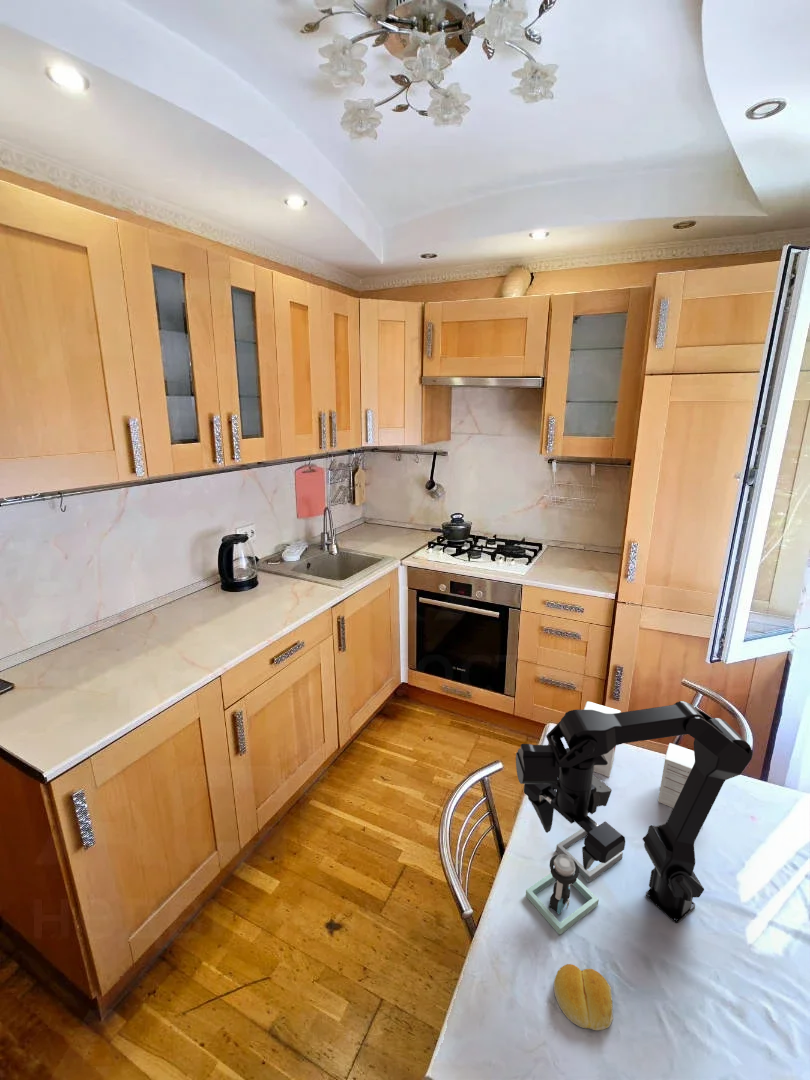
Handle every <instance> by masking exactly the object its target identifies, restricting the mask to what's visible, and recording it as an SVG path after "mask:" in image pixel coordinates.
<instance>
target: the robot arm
mask: <svg viewBox="0 0 810 1080" xmlns="http://www.w3.org/2000/svg"><path fill="white" fill-rule="evenodd" d="M684 735H685V736H686V735H689V736H690V737H692V738H693V739H694V740H693V751H694V755H695V763H694V765H693V768H692V770H691V772H690V774H689V776H688V778H687V780H686V782H685V784H684V787H683V789H682V791H681V793H680V795H679V797H678V799H677V801H676V803H675V806H674V808H672V810H671V812H670V815H669V816H668V819H667V821H666V823H663V824H660V825H658V826H655V825H653V824H651V825H649V826H648V829H647V833H646V834H645V836H643V838H642V841H643V842H644V843H643V844H644V845H643V846H644V847H643V848H644V849H645V851H646V854H647V855H648V857H649V859H650V861H651V862H652V864H653V867H654V868H653V869H651V872H650V877H649V883H648V887H649V889H648V890H647V891H645V897H646V898H647V899H648V900H649V901H651V902H652V903H653V904H654V905H655V906H656V907H657V908H658V909H659V910H660V911H662V912H663V913H664V914H665V916H667V917H668V918H669V919H670V920H672V921H673V922H674V923H675V924H678V923H680V922H681V921H682V920H683V919H684V918H685V917H686V916H687V915H688V914H689V913H691V911H693V910H694V909H695V908H696V903H695V901H694V899H693V898H700V897H701V896H702V894H703V892H704V891H705V888H704V887H703V885H702V883H701V882H700V880H699V878H698V877H697V875H696V873H695V871H694V870H695V866H696V853H695V842H696V840H697V838H698V836H699V833H700V832H701V829H702V828H703V825H704V824H705V821H706V820H707V817H708V816H709V813H710V811H711V809H712V808H713V806H714V804H715V801H716V799H718V796H719V793H720V791H721V789H722V787H723V785H724V783H725V782H726V781H727V780H729V779H732V778H735V777H738V776H740V775H741V774H742V773H743V771H744V770H745V769H746V767H747V766H748V765H749V763H750V762H751V760H752V758H753V755H754V751H753V749H752V746H751V745H750V743H748V741H746V740H745V738H743V737H742V736H741V735H740V734H739V733H738V731H736V730H735V728H733V727H732V726H731V725H730V724H729V723H728V722H727V721H726V720H725V719H722V718H718V717H712V716H710V715H709V714H707V713H706V712H704V711H703V710H701V709H699V708H697V707H694V705H692V704H691V703H689V702H687V701H684V700H683V701H681V700H680V701H679V700H678V701H677V702H675V703H673V704H670V705H663V706H657V707H650V708H643V709H642V708H641V709H636V710H635V709H634V710H630V711H623V712H622V711H621V713H614V714H606V713H602V712H599V711H595V710H584V709H571V710H569V711H567V712H565V714H564V715H563V716H562V718H561V719H560V721H559V722H557V724H556V725H555V726H554V727H553V728H552V729H551V730H550V731H549V732H548V733H547V734H546V736H545V737H546V739H547V742H548V743H547V744H530V743H522V744H520V748H518V749H517V752H516V753H515V769H516V775H517V778H518V780H517V781H518V782H519V784H521V785H523V784H524V785H523V793H524V794H525V795H526V796H527V798H528V801H529V802H530V803H531V805H532V807H533V809H534V810H535V812H536V814H537V817H538V818H539V821H540V823H541V825H542V827H543V830H544V832H545V833H547V834H548V833H549V832H551V830H552V828H553V827H552V825H553V822H554V821H553V820H554V810H556V812H557V813H559V814H560V815H561V816H562V817H563V818H564V819H565V820H566V821H568V823H570V824H573V823H576V824H577V825H578V826H579V827H580V828H581V829H582V828H583V829H584V830H585V831H586V832H587V833H588V834H587V835H586V836H584V840H583V841H584V842H583V844H584V846H582V847H581V850H582V851H581V852H582V865H583V866H584V869H585V870H588V869H590V868H591V866H592V865H593V864H594V863H595V862H599V863H606V862H608V861H609V860H610V859H612V858H613V857H614V856H616V855H617V854H619V853H620V852H621V851H622V852H623V851H624V850H625V848H626V847H625V846H626V838H625V837H626V836H624V835H623V834H621V833H620V832H619V831H618V830H616V828H614V827H613V826H612V825H611V824H609V823H608V822H607V821H603V822H602V823H600V824H598V823H597V821H595V820H594V819H592V818H591V817H590V816H589V813H590V814H591V815H593V814H595V813H596V812H597V807H606V806H607V805H608V803H609V799H610V796H611V793H612V791H613V790H612V788H611V787H609V785H607V784H606V783H605V782H603V781H601V780H600V779H599V778H598V777H596V776H594V773H595V772H594V765H607V764H608V762H607V760H606V758H605V757H604V754H607V753H608V752H609V751H611V750H612V749H613V748H614V747H615V746H616V747H617V746H619V745H623V744H628V743H637V742H643V741H649V740H650V741H651V740H657V739H665V738H671V737H678V736H684ZM562 738H564V740H565V743H566V745H567V747H565V745H564V742H563V741H562Z"/></svg>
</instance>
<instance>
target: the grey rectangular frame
mask: <svg viewBox="0 0 810 1080" xmlns="http://www.w3.org/2000/svg"><path fill="white" fill-rule="evenodd" d="M587 834H588V833H587V832H586V831H585V830H584V829H583V828H582V827H581V829H579V830H578V831H575V832H574V833H573V834H571V835H569V836H568V837H566V838H565V839H564V840H562V841H560V842H559V843H557V844H556V847H555V851H556V852H557V853H558V854H564V855H567V856H569V857H570V858H572V859H573V860H574V861H575V862H576V863H577V865H578V867H579V875H581V877H583V879H584V880H586V881H587V882H588V883H590V882H592V881H593V880H595V879H596V878H597V877H598V876H600V875H601V874H602V873H604V872H605V871H606V870H608V869H609V868H611V867H612V866H614V865H615V864H616V863H618V862H619V861H620V860H622V859H623V854H624V852H623V851H621V852H620V853H619V854H617V855H616V856H614V857H613V858H612V859H610V860H609V861H608V862H606V863H601V862H599V864H598V865H596V866H595V867H594V868H592V869H591V870H590V871H589V870H588V869H587V870H585V869H584V866H583V863H581V862H580V861H579V860H578V859H576V857H574V856H573V855H572V854H571V853H570V852H569V851H568V850H567V849H568V848H570V847H571V846H572V845H574V844H575V843H576V842H578V841H579V840H581V839H582V838H585V837H586V836H587Z"/></svg>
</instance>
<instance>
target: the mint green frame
mask: <svg viewBox="0 0 810 1080" xmlns="http://www.w3.org/2000/svg"><path fill="white" fill-rule="evenodd" d="M574 874H575V873H574ZM574 874H573V875H574ZM556 881H557V880H556V879H555V878H554V877H553V876H552V874H551V872H550V873H549V874H547V875H546V876H545V877H543V878H541V879H540V880H538V881H537V882H535V883H534V884H532V885H530V887H528V888H527V889H526V890H525V897H526V898H527V899H528V900H529V901H530V903H531V904H532V905H533V906H534V907H535V908H536V909H537V911H538V912H539V913H540V914H541V916H543V918H544V919H545V920H546V921H547V923H548V924H549V925H550V926H551V927H552V928H553V929H554V931H556V933H557V934H558V935H559V936H560V935H562V934H564V932H566V931H567V930H568V929H569V928H571V927H572V926H574V925H575V924H576V923H577V922H579V921H580V920H581V919H583V917H585V916H587V914H589V913H590V912H592V911H593V910H594V909H595V908H596V907H598V906H599V898H598V897H597V896H596V895H595V894H594V893H593V892H592V891H591V890H590V889H589V888H588V887H587V886H586V885H585V883H583V881H581V880H580V879H579V877H578V878H577V880H576V882H575V883H574V884H572V886H573V887H574V888H575V889H576V890H577V891H579V893H580V894H581V895H582V896H583V897H584V898H585V899H586V900H587V902H585V903H584V904H582V905H581V906H579V907H578V909H576V910H575V911H573V912H572V913H571V914H569V915H568V916H567V917H566V918H564V919H563V920H562V921H561V922H560V921H559V920H558V918H556V916H555V915H554V914H553V913H552V912H551V911H550V910H549V908H547V906H546V905H545V904H544V903H543V902H542V901H541V900H540V898H539V897H538V896H537V894H538V893H540V892H541V891H543V890H544V889H545V888H547V887H549V886H550V885H551V884H552V883H553V884H554V883H555V882H556Z"/></svg>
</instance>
